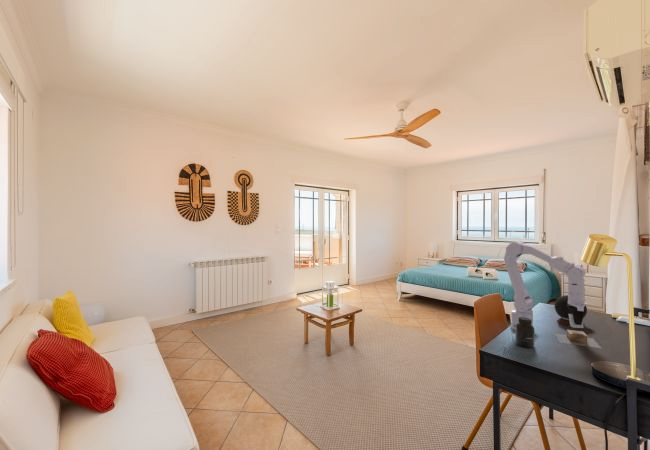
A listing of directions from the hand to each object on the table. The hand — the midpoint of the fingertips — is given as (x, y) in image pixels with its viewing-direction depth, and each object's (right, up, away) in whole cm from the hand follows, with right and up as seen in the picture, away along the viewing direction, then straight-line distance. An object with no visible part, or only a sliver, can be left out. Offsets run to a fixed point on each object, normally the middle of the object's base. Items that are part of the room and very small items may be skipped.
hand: (576, 322), depth 134 cm
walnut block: (0, -8, 0) cm, 8 cm away
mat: (0, -8, 0) cm, 8 cm away
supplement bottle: (-26, -9, -4) cm, 28 cm away
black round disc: (+16, -8, +22) cm, 28 cm away
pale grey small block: (0, -2, 0) cm, 2 cm away
